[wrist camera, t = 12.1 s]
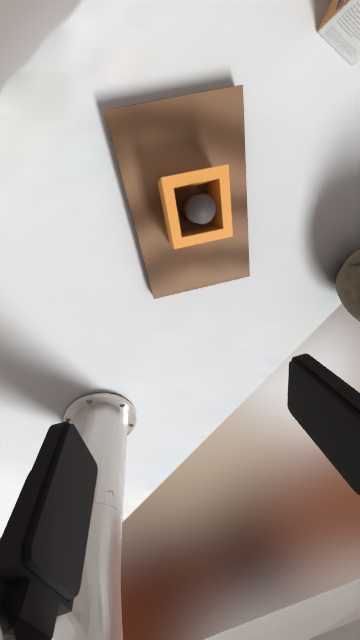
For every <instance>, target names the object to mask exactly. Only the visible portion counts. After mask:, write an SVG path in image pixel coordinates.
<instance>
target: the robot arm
mask: <svg viewBox="0 0 360 640" xmlns="http://www.w3.org/2000/svg"><path fill="white" fill-rule="evenodd" d="M288 409H289V411H290V413H291V414H292V415H293V417H294V418H295V419H296V420H297V421H298V423H299V424H300V425H301V426H302V428H303V429H304V430H305V431H306V432H307V434H308V435H309V436H310V437H311V439H312V440H313V441H314V442H315V443H316V445H317V446H318V447H319V448H320V450H321V451H322V452H323V453H324V455H325V456H326V457H327V458H328V459H329V461H330V462H331V463H332V464H333V466H334V467H335V468H336V469H337V470H338V472H339V473H340V474H341V475H342V477H343V478H344V479H345V480H346V481H347V483H348V484H349V485H350V486H351V488H353V490H354V491H355V492H356V493H357V494H359V495H360V393H359V392H358V391H356V390H355V389H354V388H352V387H351V386H350V385H348V384H347V383H346V382H344V381H343V380H342V379H341V378H339V377H338V376H337V375H335V374H334V373H333V372H331V371H330V370H329V369H327V368H326V367H325V366H323V365H322V364H321V363H319V362H318V361H317V360H315V359H314V358H313V357H311V356H310V355H309V354H302V355H299V356H296V357H293V358H292V361H291V362H290V363H289V380H288ZM135 424H136V411H135V409H134V407H133V405H132V404H131V403H130V402H129V401H128V400H126V399H124V398H123V397H120V396H118V395H115V394H110V393H94V394H89V395H86V396H83V397H81V398H79V399H77V400H75V401H74V402H73V403H72V404H71V405H70V406H69V407H68V409H67V410H66V413H65V415H64V419H63V422H62V423H58V424H55V425H52V426H50V428H49V430H48V432H47V434H46V437H45V439H44V442H43V444H42V446H41V449H40V451H39V453H38V456H37V458H36V461H35V463H34V465H33V468H32V470H31V471H30V473H29V475H28V476H27V478H26V481H25V483H24V486H23V488H22V490H21V493H20V495H19V497H18V500H17V502H16V504H15V507H14V509H13V511H12V514H11V516H10V518H9V521H8V523H7V526H6V528H5V530H4V533H3V535H2V537H1V540H0V640H123V633H122V617H121V590H120V561H121V560H120V559H121V558H120V557H121V535H122V514H123V496H124V478H125V460H126V442H127V435H129V434H130V433H131V431H132V430H133V429H134V427H135ZM204 640H360V579H358V580H355V581H353V582H350V583H347V584H345V585H342V586H340V587H337V588H335V589H332V590H329V591H327V592H324V593H321V594H319V595H316V596H314V597H311V598H309V599H306V600H303V601H301V602H298V603H296V604H293V605H291V606H289V607H286V608H283V609H280V610H278V611H275V612H273V613H271V614H268V615H265V616H262V617H260V618H257V619H255V620H253V621H250V622H248V623H245V624H242V625H240V626H237V627H235V628H232V629H229V630H227V631H224V632H222V633H219V634H217V635H214V636H212V637H209V638H206V639H204Z"/></svg>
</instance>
